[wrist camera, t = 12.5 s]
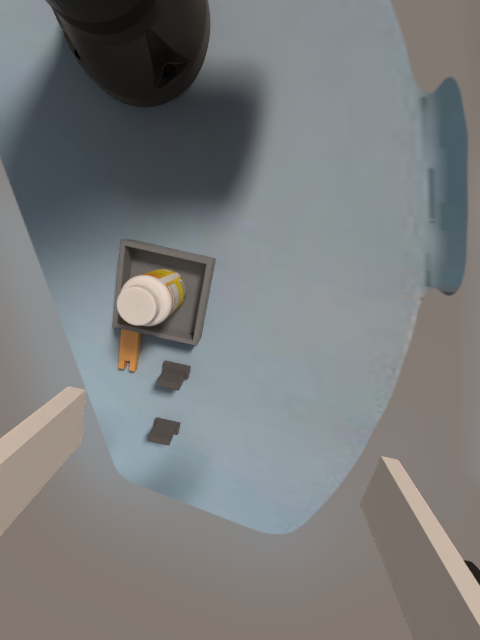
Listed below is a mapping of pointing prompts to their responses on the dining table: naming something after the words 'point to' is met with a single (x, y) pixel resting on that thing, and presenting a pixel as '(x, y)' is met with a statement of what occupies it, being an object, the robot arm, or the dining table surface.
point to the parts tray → (189, 266)
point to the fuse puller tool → (129, 349)
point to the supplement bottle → (151, 297)
